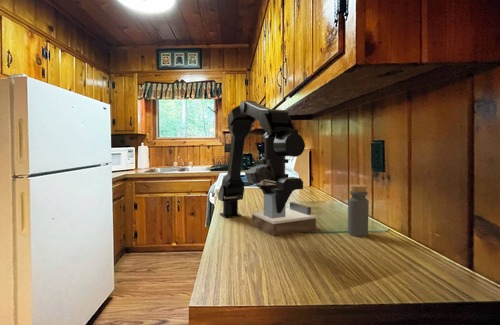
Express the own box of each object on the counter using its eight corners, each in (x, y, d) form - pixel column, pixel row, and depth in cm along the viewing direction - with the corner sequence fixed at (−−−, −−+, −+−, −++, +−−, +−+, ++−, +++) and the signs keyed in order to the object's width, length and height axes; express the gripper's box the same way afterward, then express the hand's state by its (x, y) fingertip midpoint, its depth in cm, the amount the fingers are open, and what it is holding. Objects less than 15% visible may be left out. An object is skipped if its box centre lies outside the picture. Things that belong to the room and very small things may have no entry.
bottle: (364, 231, 94) (365, 184, 94) (370, 237, 89) (371, 187, 88) (345, 231, 95) (346, 184, 94) (350, 236, 89) (351, 186, 88)
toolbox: (252, 225, 102) (252, 214, 102) (290, 219, 109) (290, 210, 109) (274, 236, 90) (274, 224, 89) (315, 229, 97) (316, 218, 97)
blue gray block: (263, 215, 84) (263, 194, 84) (276, 213, 86) (276, 192, 86) (271, 218, 80) (271, 196, 80) (285, 216, 82) (285, 195, 82)
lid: (251, 214, 102) (251, 204, 102) (290, 209, 109) (291, 200, 109) (273, 224, 89) (273, 213, 89) (316, 218, 97) (317, 208, 96)
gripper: (234, 154, 87) (234, 207, 88) (267, 157, 70) (266, 222, 71) (267, 154, 92) (266, 204, 93) (305, 156, 76) (304, 217, 76)
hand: (274, 211), depth 83 cm, fingers closed on blue gray block, 4 cm apart
